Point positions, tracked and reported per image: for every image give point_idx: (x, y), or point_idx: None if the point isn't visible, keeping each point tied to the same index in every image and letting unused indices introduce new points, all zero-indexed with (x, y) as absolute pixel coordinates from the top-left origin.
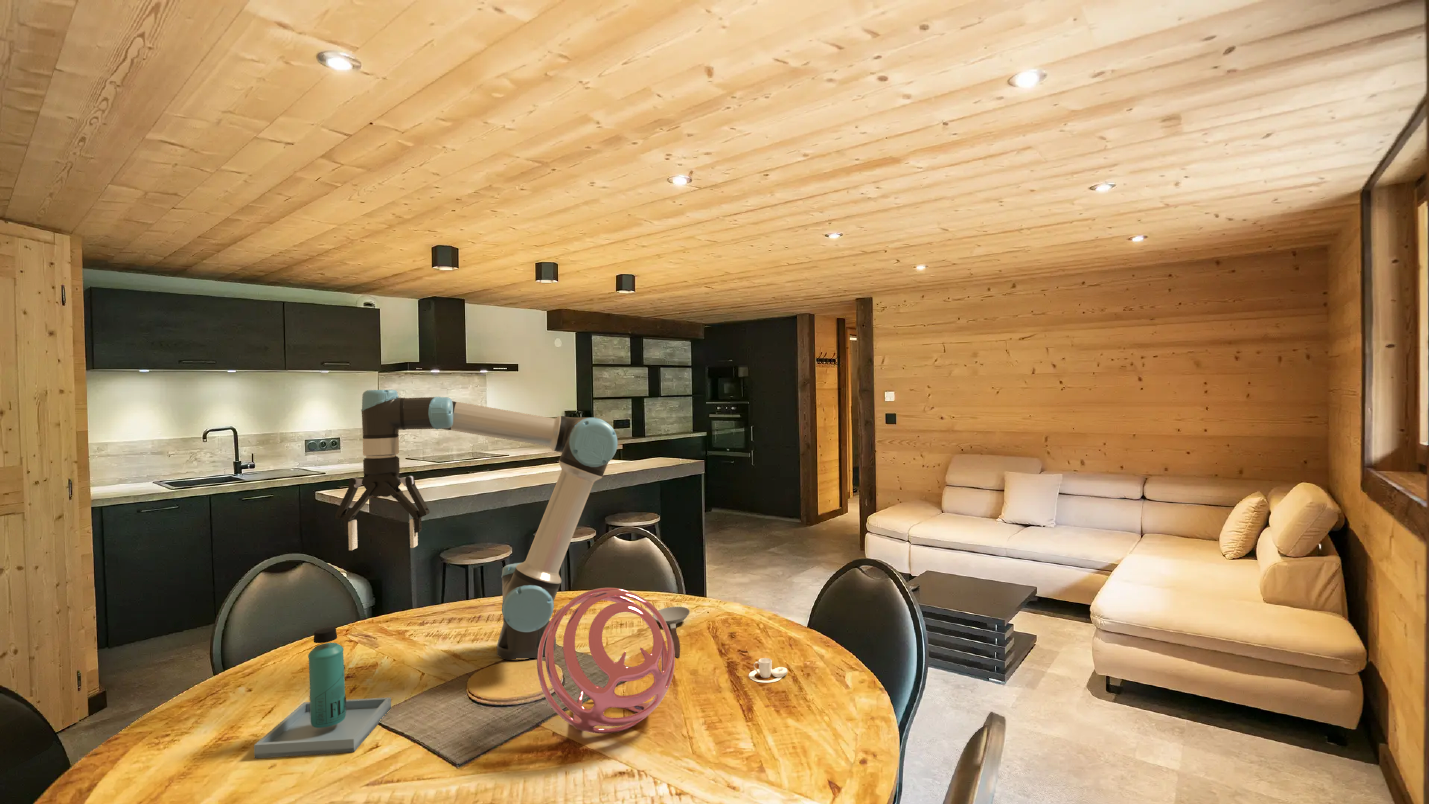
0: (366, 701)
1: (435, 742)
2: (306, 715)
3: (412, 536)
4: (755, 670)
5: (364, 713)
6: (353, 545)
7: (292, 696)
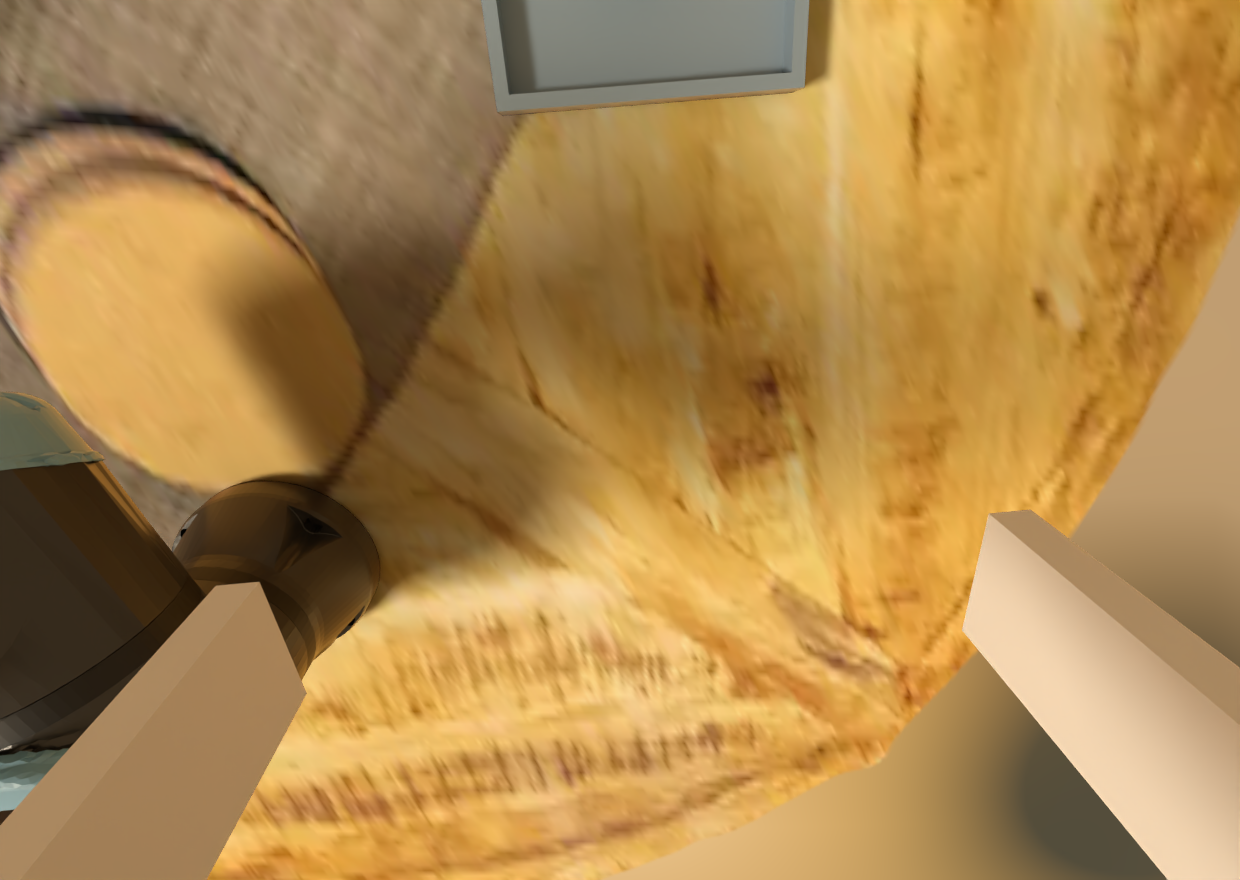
0: (577, 89)
1: None
2: (767, 40)
3: (114, 712)
4: None
5: (563, 44)
6: (1017, 579)
7: (887, 243)
